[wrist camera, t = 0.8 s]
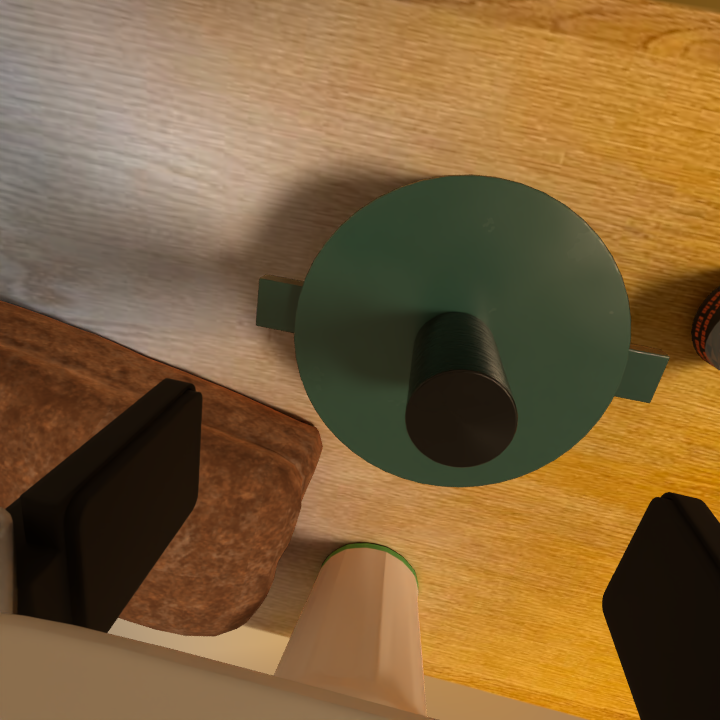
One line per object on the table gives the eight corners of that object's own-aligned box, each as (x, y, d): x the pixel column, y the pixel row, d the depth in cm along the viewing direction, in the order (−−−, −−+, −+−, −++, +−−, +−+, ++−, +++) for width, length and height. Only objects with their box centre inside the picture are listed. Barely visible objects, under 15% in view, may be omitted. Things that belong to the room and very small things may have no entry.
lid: (319, 146, 21) (260, 140, 14) (676, 207, 20) (810, 234, 13) (286, 441, 27) (231, 543, 19) (561, 500, 26) (610, 631, 18)
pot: (318, 153, 30) (263, 150, 21) (636, 207, 29) (736, 231, 19) (295, 356, 36) (243, 430, 26) (563, 410, 34) (612, 509, 25)
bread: (273, 576, 44) (221, 707, 33) (-40, 450, 44) (-191, 542, 33) (337, 421, 37) (298, 525, 27) (-31, 271, 37) (-219, 316, 26)
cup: (372, 654, 46) (343, 874, 32) (269, 573, 44) (190, 769, 30) (474, 589, 41) (493, 812, 27) (364, 495, 39) (325, 683, 25)
